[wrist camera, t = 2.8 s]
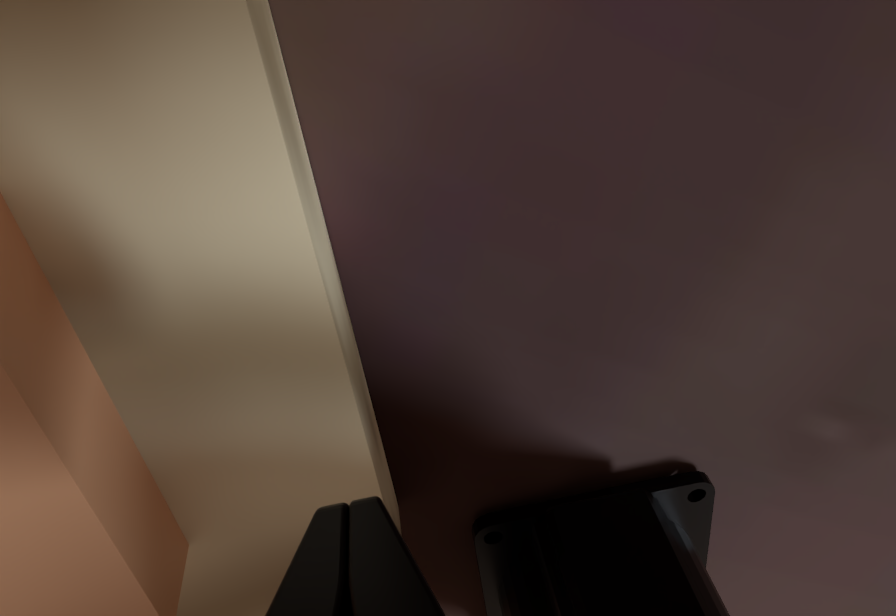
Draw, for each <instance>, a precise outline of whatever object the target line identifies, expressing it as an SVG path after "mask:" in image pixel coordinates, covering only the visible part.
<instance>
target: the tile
mask: <svg viewBox="0 0 896 616" xmlns="http://www.w3.org/2000/svg"><path fill="white" fill-rule="evenodd" d="M188 548H189V544H188V542H187V540H186V538H185V536H184V534H183V533H182V531H181V529H180V527H179V525H178V523H177V521H176V519H175V518H174V516H173V514H172V512H171V510H170V508H169V506H168V504H167V503H166V501H165V499H164V497H163V495H162V493H161V491H160V490H159V488H158V486H157V484H156V482H155V480H154V478H153V476H152V475H151V473H150V471H149V469H148V467H147V465H146V463H145V461H144V460H143V458H142V456H141V454H140V452H139V450H138V448H137V447H136V445H135V443H134V441H133V439H132V437H131V435H130V433H129V432H128V430H127V428H126V426H125V424H124V422H123V420H122V418H121V417H120V415H119V413H118V411H117V409H116V407H115V405H114V404H113V402H112V400H111V398H110V396H109V394H108V392H107V390H106V389H105V387H104V385H103V383H102V381H101V379H100V377H99V375H98V374H97V372H96V370H95V368H94V366H93V364H92V362H91V361H90V359H89V357H88V355H87V353H86V351H85V349H84V347H83V346H82V344H81V342H80V340H79V338H78V336H77V334H76V332H75V331H74V329H73V327H72V325H71V323H70V321H69V319H68V318H67V316H66V314H65V312H64V310H63V308H62V306H61V304H60V303H59V301H58V299H57V297H56V295H55V293H54V291H53V289H52V288H51V286H50V284H49V282H48V280H47V278H46V276H45V274H44V273H43V271H42V269H41V267H40V265H39V263H38V261H37V260H36V258H35V256H34V254H33V252H32V250H31V248H30V246H29V245H28V243H27V241H26V239H25V237H24V235H23V233H22V231H21V230H20V228H19V226H18V224H17V222H16V220H15V218H14V217H13V215H12V213H11V211H10V209H9V207H8V205H7V203H6V202H5V200H4V198H3V196H2V194H1V192H0V616H176V614H177V608H178V603H179V597H180V592H181V587H182V581H183V576H184V570H185V565H186V559H187V554H188Z"/></svg>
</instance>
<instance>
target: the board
mask: <svg viewBox="0 0 896 616" xmlns="http://www.w3.org/2000/svg"><path fill="white" fill-rule="evenodd" d="M0 192H1V194H2V196H3V198H4V200H5V202H6V203H7V205H8V207H9V209H10V211H11V213H12V215H13V217H14V218H15V220H16V222H17V224H18V226H19V228H20V230H21V231H22V233H23V235H24V237H25V239H26V241H27V243H28V245H29V246H30V248H31V250H32V252H33V254H34V256H35V258H36V260H37V261H38V263H39V265H40V267H41V269H42V271H43V273H44V274H45V276H46V278H47V280H48V282H49V284H50V286H51V288H52V289H53V291H54V293H55V295H56V297H57V299H58V301H59V303H60V304H61V306H62V308H63V310H64V312H65V314H66V316H67V318H68V319H69V321H70V323H71V325H72V327H73V329H74V331H75V332H76V334H77V336H78V338H79V340H80V342H81V344H82V346H83V347H84V349H85V351H86V353H87V355H88V357H89V359H90V361H91V362H92V364H93V366H94V368H95V370H96V372H97V374H98V375H99V377H100V379H101V381H102V383H103V385H104V387H105V389H106V390H107V392H108V394H109V396H110V398H111V400H112V402H113V404H114V405H115V407H116V409H117V411H118V413H119V415H120V417H121V418H122V420H123V422H124V424H125V426H126V428H127V430H128V432H129V433H130V435H131V437H132V439H133V441H134V443H135V445H136V447H137V448H138V450H139V452H140V454H141V456H142V458H143V460H144V461H145V463H146V465H147V467H148V469H149V471H150V473H151V475H152V476H153V478H154V480H155V482H156V484H157V486H158V488H159V490H160V491H161V493H162V495H163V497H164V499H165V501H166V503H167V504H168V506H169V508H170V510H171V512H172V514H173V516H174V518H175V519H176V521H177V523H178V525H179V527H180V529H181V531H182V533H183V534H184V536H185V538H186V540H187V542H188V544H189V548H188V554H187V559H186V565H185V570H184V576H183V581H182V587H181V592H180V597H179V603H178V608H177V614H176V616H265V614H266V612H267V610H268V608H269V606H270V604H271V602H272V600H273V598H274V596H275V594H276V592H277V590H278V588H279V585H280V583H281V581H282V579H283V577H284V575H285V573H286V571H287V569H288V567H289V565H290V563H291V561H292V559H293V556H294V554H295V552H296V550H297V548H298V546H299V544H300V542H301V540H302V538H303V536H304V534H305V532H306V530H307V528H308V525H309V523H310V521H311V519H312V517H313V515H314V513H315V511H316V510H317V509H318V508H320V507H323V506H327V505H332V504H337V503H342V502H343V503H347V504H348V505H350V503H351V502H352V501H353V500H357V499H362V498H367V497H372V496H378V497H379V498H381V500H382V502H383V503H384V505H385V507H386V509H387V511H388V512H389V514H390V516H391V518H392V520H393V521H394V523H395V525H396V527H397V529H398V531H399V532H400V534H401V525H400V517H399V508H398V503H397V499H396V495H395V491H394V487H393V484H392V480H391V476H390V472H389V468H388V464H387V460H386V456H385V453H384V449H383V445H382V441H381V437H380V433H379V429H378V425H377V422H376V418H375V414H374V410H373V406H372V402H371V398H370V395H369V391H368V387H367V383H366V379H365V375H364V371H363V367H362V364H361V360H360V356H359V352H358V348H357V344H356V340H355V336H354V333H353V329H352V325H351V321H350V317H349V313H348V309H347V305H346V302H345V298H344V294H343V290H342V286H341V282H340V278H339V274H338V271H337V267H336V263H335V259H334V255H333V251H332V247H331V244H330V240H329V236H328V232H327V228H326V224H325V220H324V216H323V213H322V209H321V205H320V201H319V197H318V193H317V189H316V185H315V182H314V178H313V174H312V170H311V166H310V162H309V158H308V154H307V151H306V147H305V143H304V139H303V135H302V131H301V127H300V123H299V120H298V116H297V112H296V108H295V104H294V100H293V96H292V93H291V89H290V85H289V81H288V77H287V73H286V69H285V65H284V62H283V58H282V54H281V50H280V46H279V42H278V38H277V34H276V31H275V27H274V23H273V19H272V15H271V11H270V7H269V3H268V0H0ZM401 536H402V534H401Z"/></svg>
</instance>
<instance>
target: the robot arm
mask: <svg viewBox="0 0 896 616" xmlns="http://www.w3.org/2000/svg"><path fill="white" fill-rule="evenodd" d="M714 496H715V489H714V486H713V484H712V483H711V481H710V479H709V478H708V476H707V475H706V474H705V473H703V472H700V471H692V472H687V473H682V474H677V475H672V476H668V477H663V478H658V479H653V480H648V481H643V482H638V483H634V484H629V485H624V486H619V487H614V488H609V489H605V490H600V491H595V492H590V493H585V494H580V495H575V496H571V497H566V498H561V499H556V500H551V501H546V502H542V503H537V504H532V505H527V506H522V507H517V508H513V509H508V510H503V511H498V512H493V513H488V514H485V515H483V516H481V517H479V518H478V519H476V520H475V522H474V523H473V525H472V533H473V539H474V544H475V550H476V556H477V562H478V567H479V573H480V579H481V585H482V590H483V596H484V602H485V607H486V613H487V616H730V615H729V613H728V611H727V609H726V607H725V605H724V603H723V602H722V600H721V598H720V596H719V594H718V592H717V590H716V588H715V586H714V584H713V582H712V580H711V578H710V576H709V574H708V572H707V570H706V562H707V554H708V545H709V537H710V529H711V521H712V512H713V504H714ZM265 616H445V614H444V612H443V610H442V608H441V607H440V605H439V603H438V601H437V599H436V598H435V596H434V594H433V592H432V590H431V589H430V587H429V585H428V583H427V581H426V579H425V578H424V576H423V574H422V572H421V570H420V569H419V567H418V565H417V563H416V561H415V560H414V558H413V556H412V554H411V552H410V550H409V549H408V547H407V545H406V543H405V541H404V540H403V538H402V536H401V534H400V532H399V531H398V529H397V527H396V525H395V523H394V521H393V520H392V518H391V516H390V514H389V512H388V511H387V509H386V507H385V505H384V503H383V502H382V500H381V498H379V497H378V496H372V497H367V498H362V499H357V500H353V501H352V502H351V503H350V505H348V504H347V503H343V502H342V503H337V504H332V505H327V506H323V507H320V508H318V509H317V510H316V511H315V513H314V515H313V517H312V519H311V521H310V523H309V525H308V528H307V530H306V532H305V534H304V536H303V538H302V540H301V542H300V544H299V546H298V548H297V550H296V552H295V554H294V556H293V559H292V561H291V563H290V565H289V567H288V569H287V571H286V573H285V575H284V577H283V579H282V581H281V583H280V585H279V588H278V590H277V592H276V594H275V596H274V598H273V600H272V602H271V604H270V606H269V608H268V610H267V612H266V614H265Z"/></svg>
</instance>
